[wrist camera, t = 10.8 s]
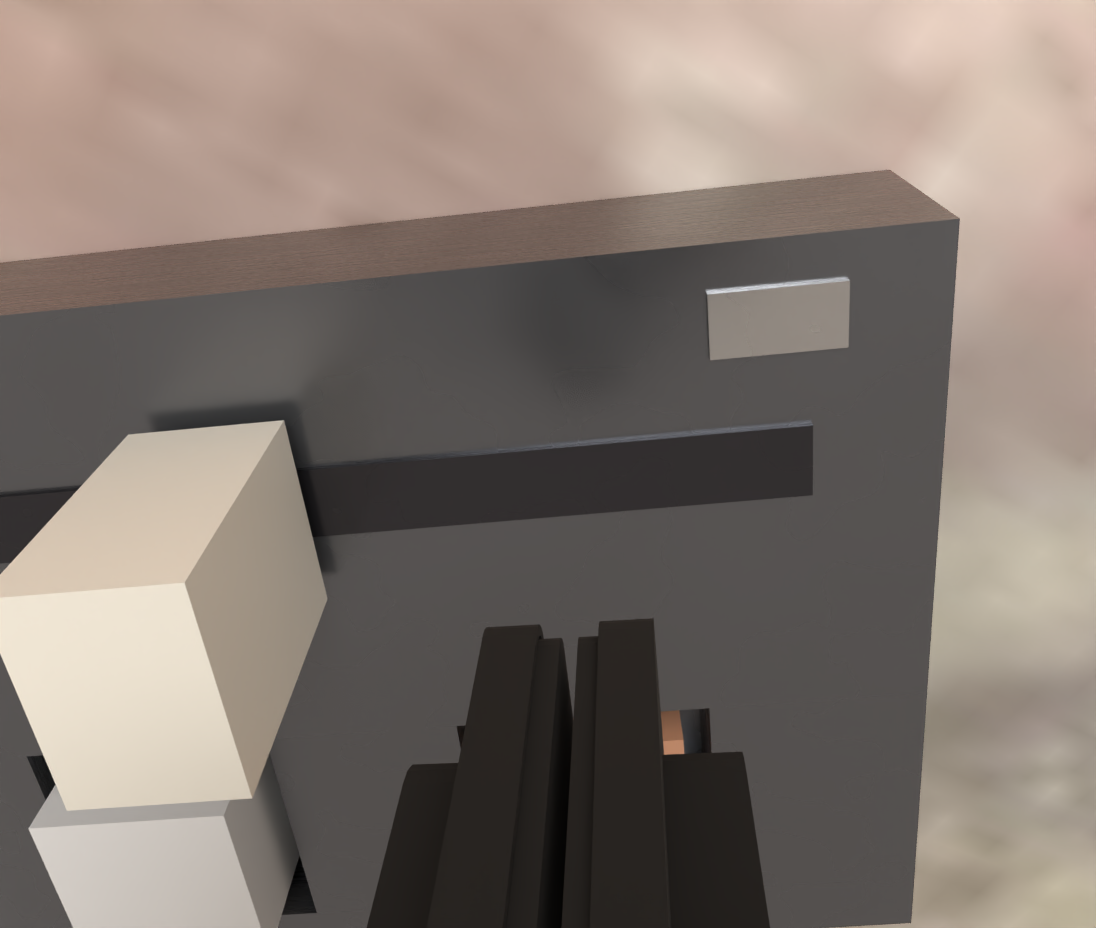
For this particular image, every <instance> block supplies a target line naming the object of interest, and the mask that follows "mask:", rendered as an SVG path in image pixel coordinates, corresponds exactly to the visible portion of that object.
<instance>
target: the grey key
mask: <svg viewBox="0 0 1096 928" xmlns="http://www.w3.org/2000/svg"><path fill="white" fill-rule="evenodd" d="M28 829H29V831H30V833H31V836H32V838H33V840H34V842H35V845H36V847H37V849H38V851H39V853H40V856H41V858H42V860H43V862H44V864H45V867H46V869H47V871H48V873H49V876H50V878H51V880H52V882H53V884H54V887H55V889H56V891H57V893H58V895H59V898H60V900H61V902H62V904H63V907H64V909H65V911H66V913H67V915H68V918H69V920H70V922H71V924H72V926H73V928H278V925H279V922H280V918H281V915H282V912H283V908H284V905H285V902H286V899H287V895H288V892H289V889H290V885H291V882H292V879H293V875H294V872H295V869H296V865H297V862H298V859H299V851H298V848H297V844H296V841H295V838H294V834H293V831H292V828H291V824H290V821H289V818H288V814H287V811H286V807H285V804H284V801H283V797H282V794H281V791H280V787H279V784H278V781H277V777H276V774H275V770H274V767H273V764H272V760H271V757H270V754H269V756H268V758H267V761H266V764H265V766H264V769H263V771H262V774H261V777H260V779H259V782H258V785H257V787H256V790H255V793H254V795H253V798H251V799H236V800H221V801H206V802H191V803H176V804H161V805H146V806H131V807H116V808H101V809H86V810H71V811H67V810H66V808H65V805H64V803H63V800H62V798H61V796H60V793H59V791H58V789H57V786H56V785H55V786H54V788H53V790H52V791H51V793H50V794H49V796H48V798H47V799H46V801H45V803H44V804H43V806H42V807H41V809H40V811H39V812H38V814H37V815H36V817H35V819H34V820H33V822H32V824H31V825H30V827H29V828H28Z"/></svg>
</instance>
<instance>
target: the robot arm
mask: <svg viewBox="0 0 1096 928" xmlns="http://www.w3.org/2000/svg"><path fill="white" fill-rule="evenodd" d="M367 928H770V923H769V917H768V910H767V903H766V897H765V890H764V884H763V877H762V870H761V864H760V857H759V851H758V844H757V837H756V831H755V824H754V818H753V811H752V805H751V798H750V791H749V785H748V778H747V772H746V766H745V760H744V756H743V752H719V753H693V754H668V755H664V747H663V734H662V721H661V708H660V694H659V681H658V668H657V655H656V642H655V629H654V619H653V618H650V619H632V620H613V621H599V628H598V636H589V637H579V638H578V647H577V664H576V682H575V699H574V717H573V713H572V705H571V697H570V689H569V681H568V673H567V665H566V657H565V650H564V643H563V639H562V638H550V639H544V636H543V631H542V628H541V626H540V624H537V625H518V626H499V627H486V628H485V630H484V633H483V637H482V642H481V647H480V652H479V658H478V663H477V668H476V673H475V679H474V684H473V689H472V694H471V699H470V705H469V710H468V715H467V720H466V725H465V731H464V736H463V741H462V746H461V751H460V757H459V762H458V763H439V764H413V765H412V766H411V767H410V768H409V769H408V771H407V773H406V776H405V779H404V782H403V785H402V789H401V793H400V797H399V801H398V805H397V809H396V813H395V817H394V821H393V825H392V829H391V833H390V837H389V841H388V845H387V849H386V853H385V857H384V861H383V865H382V869H381V873H380V877H379V881H378V884H377V888H376V892H375V896H374V900H373V904H372V908H371V912H370V916H369V920H368V924H367Z"/></svg>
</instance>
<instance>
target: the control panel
mask: <svg viewBox="0 0 1096 928" xmlns="http://www.w3.org/2000/svg"><path fill="white" fill-rule="evenodd" d="M959 221H960V219H959V218H958V217H957V216H955V215H954V214H952V213H951V212H949V211H948V210H947V209H945V208H944V207H942V206H941V205H939V204H938V203H937V202H935V201H934V200H932V199H931V198H929V197H928V196H927V195H925V194H924V193H922V192H921V191H919V190H918V189H917V188H915V187H914V186H912V185H911V184H909V183H908V182H906V181H905V180H904V179H902V178H901V177H899V176H898V175H896V174H895V173H894V172H892V171H891V170H884V171H874V172H865V173H855V174H846V175H836V176H826V177H817V178H807V179H798V180H788V181H779V182H769V183H760V184H750V185H740V186H731V187H721V188H712V189H702V190H693V191H683V192H673V193H664V194H654V195H645V196H635V197H626V198H616V199H607V200H597V201H587V202H578V203H568V204H559V205H549V206H540V207H530V208H521V209H511V210H501V211H492V212H482V213H473V214H463V215H454V216H444V217H435V218H425V219H415V220H406V221H396V222H387V223H377V224H368V225H358V226H348V227H339V228H329V229H320V230H310V231H301V232H291V233H282V234H272V235H262V236H253V237H243V238H234V239H224V240H215V241H205V242H196V243H186V244H176V245H167V246H157V247H148V248H138V249H129V250H119V251H110V252H100V253H90V254H81V255H71V256H62V257H52V258H43V259H33V260H24V261H14V262H4V263H0V574H1V573H2V572H3V571H4V570H5V569H6V568H7V567H8V565H9V564H10V563H11V562H12V561H13V560H14V559H15V558H16V557H17V556H18V555H19V553H20V552H21V551H22V550H23V549H24V548H25V547H26V546H27V545H28V544H29V543H30V541H31V540H32V539H33V538H34V537H35V536H36V535H37V534H38V533H39V532H40V531H41V529H42V528H43V527H44V526H45V525H46V524H47V523H48V522H49V521H50V520H51V518H52V517H53V516H54V515H55V514H56V513H57V512H58V511H59V510H60V509H61V508H62V506H63V505H64V504H65V503H66V502H67V501H68V500H69V499H70V498H71V497H72V496H73V494H74V493H75V492H76V491H77V490H78V489H79V488H80V487H81V486H82V485H83V484H84V482H85V481H86V480H87V479H88V478H89V477H90V476H91V475H92V474H93V473H94V471H95V470H96V469H97V468H98V467H99V466H100V465H101V464H102V463H103V462H104V461H105V459H106V458H107V457H108V456H109V455H110V454H111V453H112V452H113V451H114V450H115V449H116V447H117V446H118V445H119V444H120V443H121V442H122V441H123V440H124V439H125V438H126V437H127V435H129V434H140V433H150V432H161V431H172V430H183V429H194V428H205V427H216V426H226V425H237V424H248V423H259V422H270V421H281V420H284V422H285V426H286V430H287V434H288V439H289V443H290V447H291V451H292V455H293V459H294V463H295V467H296V471H297V476H298V480H299V484H300V488H301V492H302V496H303V500H304V504H305V508H306V512H307V517H308V521H309V525H310V529H311V533H312V537H313V541H314V545H315V549H316V554H317V558H318V562H319V566H320V570H321V574H322V578H323V582H324V586H325V590H326V595H327V602H326V604H325V607H324V610H323V612H322V615H321V618H320V620H319V623H318V626H317V628H316V631H315V634H314V636H313V639H312V642H311V644H310V647H309V650H308V652H307V655H306V658H305V660H304V663H303V665H302V668H301V671H300V673H299V676H298V679H297V681H296V684H295V687H294V689H293V692H292V695H291V697H290V700H289V703H288V705H287V708H286V711H285V713H284V716H283V718H282V721H281V724H280V726H279V729H278V732H277V734H276V737H275V740H274V742H273V745H272V748H271V750H270V753H269V754H270V757H271V760H272V764H273V767H274V770H275V774H276V777H277V781H278V784H279V787H280V791H281V794H282V797H283V801H284V804H285V807H286V811H287V814H288V818H289V821H290V824H291V828H292V831H293V834H294V838H295V841H296V844H297V848H298V851H299V859H298V862H297V865H296V869H295V872H294V875H293V879H292V882H291V885H290V889H289V892H288V895H287V899H286V902H285V905H284V908H283V912H282V915H281V918H280V922H279V925H278V928H367V924H368V920H369V916H370V912H371V908H372V904H373V900H374V896H375V892H376V888H377V884H378V881H379V877H380V873H381V869H382V865H383V861H384V857H385V853H386V849H387V845H388V841H389V837H390V833H391V829H392V825H393V821H394V817H395V813H396V809H397V805H398V801H399V797H400V793H401V789H402V785H403V782H404V779H405V776H406V773H407V771H408V769H409V768H410V767H411V766H412V765H413V764H439V763H458V762H459V757H460V751H461V746H462V741H463V736H464V731H465V725H466V720H467V715H468V710H469V705H470V699H471V694H472V689H473V684H474V679H475V673H476V668H477V663H478V658H479V652H480V647H481V642H482V637H483V633H484V630H485V628H486V627H499V626H518V625H537V624H540V626H541V628H542V631H543V636H544V639H550V638H562V639H563V643H564V650H565V657H566V665H567V673H568V681H569V689H570V697H571V705H572V713H573V717H574V699H575V682H576V664H577V647H578V638H579V637H589V636H598V628H599V621H613V620H632V619H650V618H653V619H654V629H655V642H656V655H657V668H658V681H659V694H660V708H661V712H662V711H676V710H679V712H680V719H681V726H682V733H683V741H684V754H693V753H719V752H743V756H744V760H745V766H746V772H747V778H748V785H749V791H750V798H751V805H752V811H753V818H754V824H755V831H756V837H757V844H758V851H759V857H760V864H761V870H762V877H763V884H764V890H765V897H766V903H767V910H768V917H769V923H770V928H828V927H846V926H864V925H882V924H900V923H911V916H912V902H913V887H914V873H915V858H916V844H917V829H918V815H919V800H920V786H921V771H922V757H923V742H924V728H925V713H926V699H927V684H928V670H929V655H930V641H931V626H932V612H933V598H934V583H935V569H936V554H937V540H938V525H939V511H940V496H941V482H942V467H943V453H944V438H945V424H946V409H947V395H948V380H949V366H950V351H951V337H952V322H953V308H954V293H955V279H956V264H957V250H958V235H959ZM55 785H56V784H55V782H54V779H53V777H52V775H51V772H50V770H49V768H48V765H47V763H46V760H45V758H44V756H43V753H42V751H41V749H40V746H39V744H38V742H37V739H36V737H35V735H34V732H33V730H32V727H31V725H30V723H29V720H28V718H27V716H26V713H25V711H24V709H23V706H22V704H21V702H20V699H19V697H18V694H17V692H16V690H15V687H14V685H13V683H12V680H11V678H10V676H9V673H8V671H7V669H6V666H5V664H4V662H3V659H2V657H1V654H0V928H73V926H72V924H71V922H70V920H69V918H68V915H67V913H66V911H65V909H64V907H63V904H62V902H61V900H60V898H59V895H58V893H57V891H56V889H55V887H54V884H53V882H52V880H51V878H50V876H49V873H48V871H47V869H46V867H45V864H44V862H43V860H42V858H41V856H40V853H39V851H38V849H37V847H36V845H35V842H34V840H33V838H32V836H31V833H30V831H29V829H28V828H29V827H30V825H31V824H32V822H33V820H34V819H35V817H36V815H37V814H38V812H39V811H40V809H41V807H42V806H43V804H44V803H45V801H46V799H47V798H48V796H49V794H50V793H51V791H52V790H53V788H54V786H55Z"/></svg>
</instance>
